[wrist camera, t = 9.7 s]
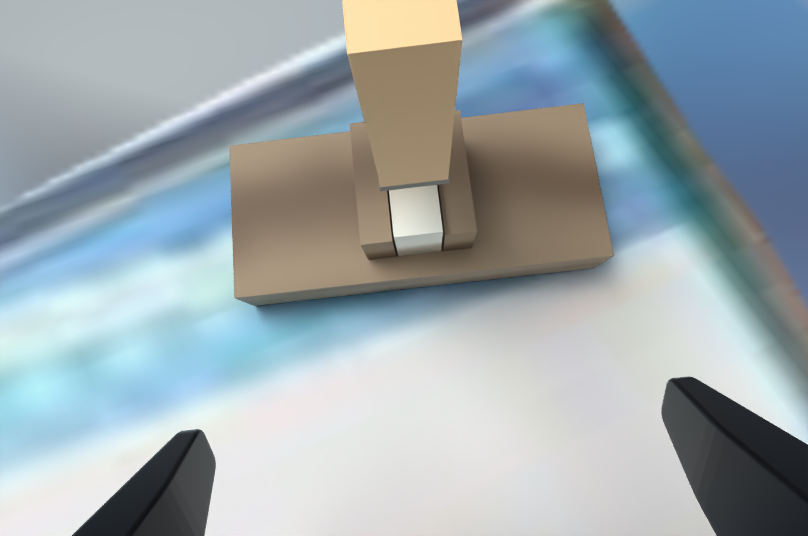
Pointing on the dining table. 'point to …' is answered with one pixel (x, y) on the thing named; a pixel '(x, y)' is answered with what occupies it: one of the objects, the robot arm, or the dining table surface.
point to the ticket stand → (416, 210)
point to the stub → (406, 85)
